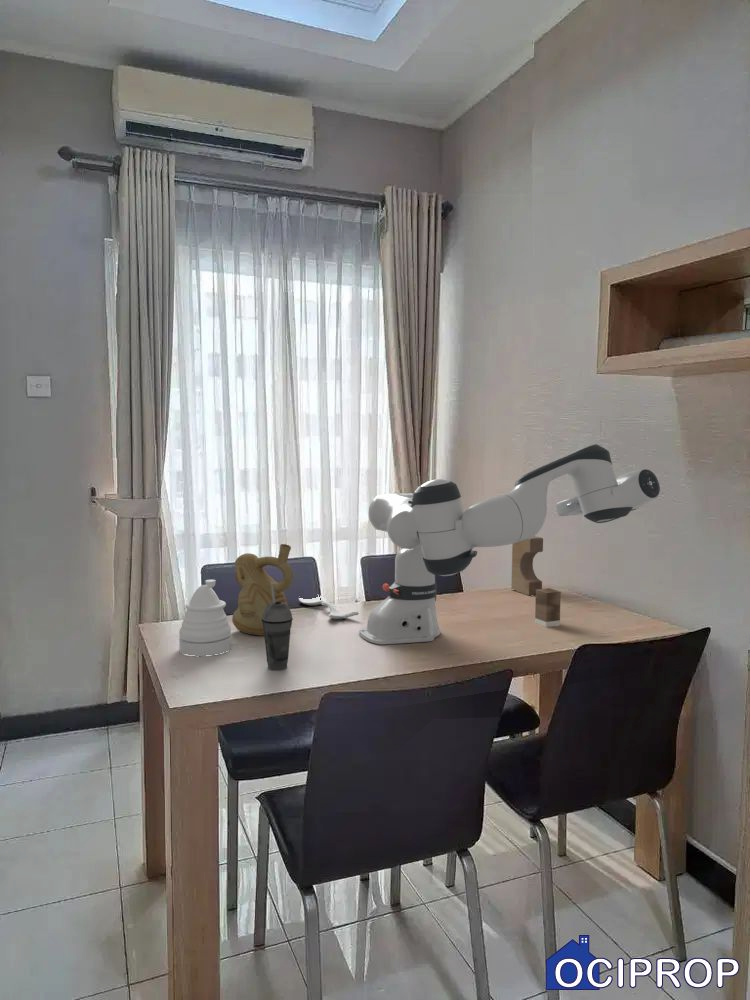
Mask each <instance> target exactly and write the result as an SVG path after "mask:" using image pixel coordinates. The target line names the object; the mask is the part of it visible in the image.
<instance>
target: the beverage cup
mask: <svg viewBox="0 0 750 1000" xmlns="http://www.w3.org/2000/svg"><path fill="white" fill-rule="evenodd" d="M271 591H272V599H273V603H271V604H269V605H268V606H267V607H266V608H265V610H264V612H263V615H262V624H263V629H264V635H263V636H264V644H265V654H266V663H267V669H268V670H271V671H283V670H286V669H287V668H288V663H289V662H288V661H289V653H290V652H289V651H290V640H291V628H292V624H293V620H294V619H293V614H292V612H291V609H290V607H289V605H288V604H287V605H288V606H287V605H286V604H284V603H282V602H275V597H274V589H273V584H271Z"/></svg>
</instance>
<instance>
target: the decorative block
mask: <svg viewBox="0 0 750 1000" xmlns="http://www.w3.org/2000/svg"><path fill="white" fill-rule="evenodd" d="M511 545H512V547H511V548H512V549H511V552H512V553H511V559H512V560H511V590H512V589H514V590H516V591H515V592H517V591H518V592H517V593H520V592H521V593H520V594H523V595H525V594H527V595H526V596H528V595H529V597H532V596H531V595H534V596H536V590H537V589H543V581H542V580H540V579H539V578H538V577H537V575H536V573H535V571H534V565H533V564H534V562H533V561H534V558H535V556H536V555H538V553H542V552H543V551H544V538H543V537H539V536H536V535H535V536H534V537H532V538H529V539H527V540H524V541H521V542H518V543H513V544H511ZM514 590H513V591H514Z"/></svg>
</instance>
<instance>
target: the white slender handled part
mask: <svg viewBox="0 0 750 1000" xmlns="http://www.w3.org/2000/svg"><path fill="white" fill-rule="evenodd" d="M317 595H318V597H316V598H312V599H303V598H299V597H298V600H299V602H300V603H302V604H304V605H308V606H313V607H314V606H320V605H322V606H326V607H328V608H329V611H330V613H329V614H328V615H327V616H328V617H329V618H330V619H333V620H341V619H347V618H351V617H353V616H359V612H358V611H353V612H343V611H339V610H337V609H336V608H335V607H334V605H333V604H332V603H331V601H328V599H327V598H326V597H324V596H322V595H320V594H317ZM319 595H320V597H319ZM320 598H321V600H320Z"/></svg>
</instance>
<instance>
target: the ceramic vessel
mask: <svg viewBox="0 0 750 1000" xmlns="http://www.w3.org/2000/svg"><path fill="white" fill-rule="evenodd" d="M291 550H292V546H291V545H289V544H287V543H286V544H285V543H281V544H280V545H279V552H278V556H277V557H275V556H261V557H258V556H257V555H256V554H254V553H250V552H249V553H244V554H243V553H242V554H241V555H239V556H238V557H237V558H236V559H235V562H234V567H235V569H234V578H235V582H236V583H237V584H238V585H239V586H241V587H242V588H241V590H240V591H239V594H238V597H237V606H238V607H237V609H236V610H235V611H234V612H233V614H232V617H231V618H232V619H231V621H232V624H233V625H234V627H235V628H236V630H237V631H238V632H241V633H242V632H243V633H245V634H249V635H252V634H253V636H265V635H264V629H263V624H262V615H263V612H264V610H265V608H266V607H267V606H268V605H269V604H271V603H273V599H272V591H271V584H273V589H274V597H275V602H282V603H284V604H286V605H287V606H288V607H289V605H288V601H287V598H286V595H285V594H286V593H285V591H287V590H288V589H289V588H290V586H291V585H292V583H293V580H294V575H293V573H294V572H293V569H292V567H291V565H290V564H289V563H288V559H289V556H290V552H291ZM267 566H272V567H276V568H277V569H279V570H281V573H282V575H283V578H282V580H281V581H280V582H277V581H276V579H275V580H274V579H273V578H272V577H271V576H270V575H269V574H268V573H267V571H266V570H265V568H264V567H267Z"/></svg>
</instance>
